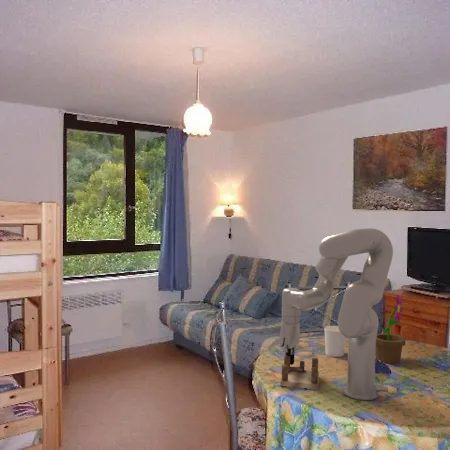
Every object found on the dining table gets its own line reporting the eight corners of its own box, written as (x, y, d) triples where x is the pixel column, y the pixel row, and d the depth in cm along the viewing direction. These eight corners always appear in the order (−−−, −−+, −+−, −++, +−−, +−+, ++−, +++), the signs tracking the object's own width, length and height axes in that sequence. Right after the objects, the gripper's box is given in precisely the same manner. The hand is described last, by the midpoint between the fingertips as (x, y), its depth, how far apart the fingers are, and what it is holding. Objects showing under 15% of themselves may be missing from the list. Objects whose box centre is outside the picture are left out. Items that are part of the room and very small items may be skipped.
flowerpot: (399, 368, 200) (401, 297, 198) (366, 361, 208) (368, 293, 207) (409, 359, 211) (411, 293, 210) (377, 353, 220) (379, 289, 219)
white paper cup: (321, 355, 215) (321, 329, 215) (327, 349, 224) (327, 324, 223) (342, 359, 211) (343, 332, 210) (347, 353, 219) (348, 327, 219)
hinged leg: (304, 370, 189) (304, 356, 189) (304, 372, 187) (304, 358, 187) (283, 369, 190) (284, 355, 190) (283, 371, 188) (284, 357, 187)
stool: (318, 376, 188) (319, 357, 188) (318, 389, 175) (318, 369, 174) (283, 373, 191) (283, 355, 191) (280, 386, 177) (280, 366, 177)
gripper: (290, 314, 200) (288, 357, 200) (274, 321, 187) (273, 366, 188) (306, 316, 196) (305, 360, 196) (291, 324, 183) (290, 370, 184)
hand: (289, 363), depth 192 cm, fingers closed
